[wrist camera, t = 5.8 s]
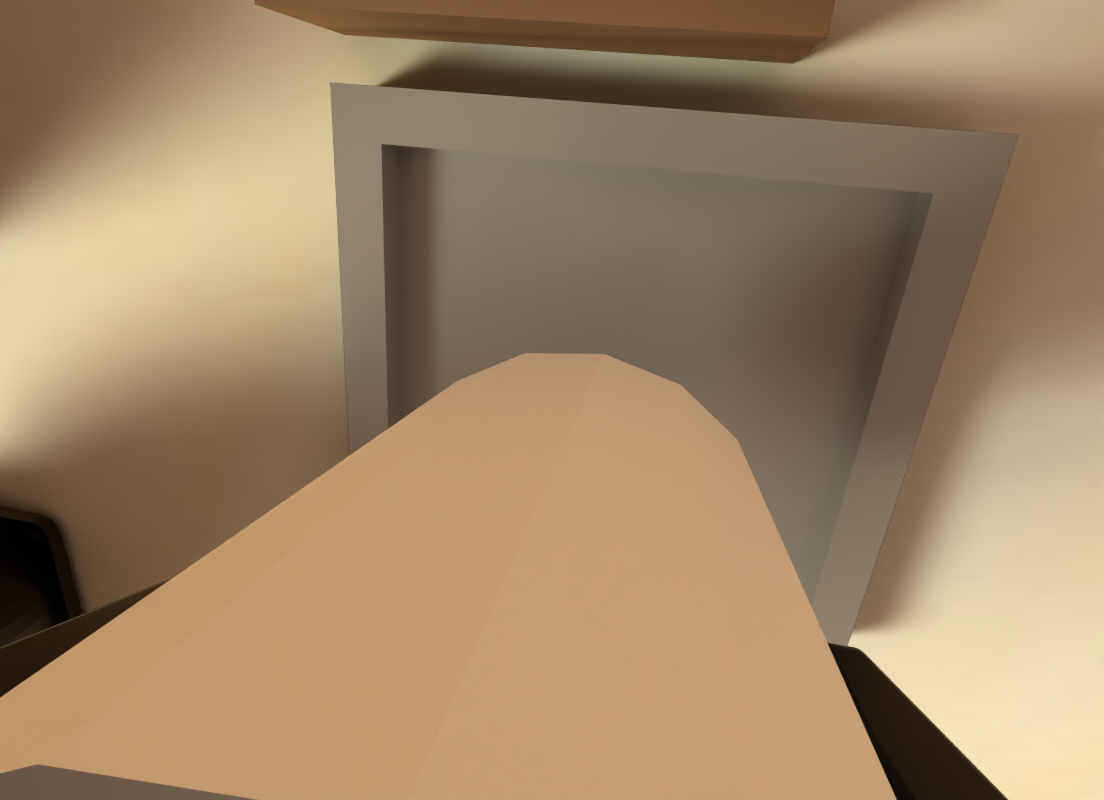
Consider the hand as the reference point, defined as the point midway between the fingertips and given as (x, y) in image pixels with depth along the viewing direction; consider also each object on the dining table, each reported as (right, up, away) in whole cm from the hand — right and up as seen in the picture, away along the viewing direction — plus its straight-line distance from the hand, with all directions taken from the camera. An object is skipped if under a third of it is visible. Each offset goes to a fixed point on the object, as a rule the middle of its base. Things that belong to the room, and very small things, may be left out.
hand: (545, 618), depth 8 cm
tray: (+2, +3, +7) cm, 8 cm away
